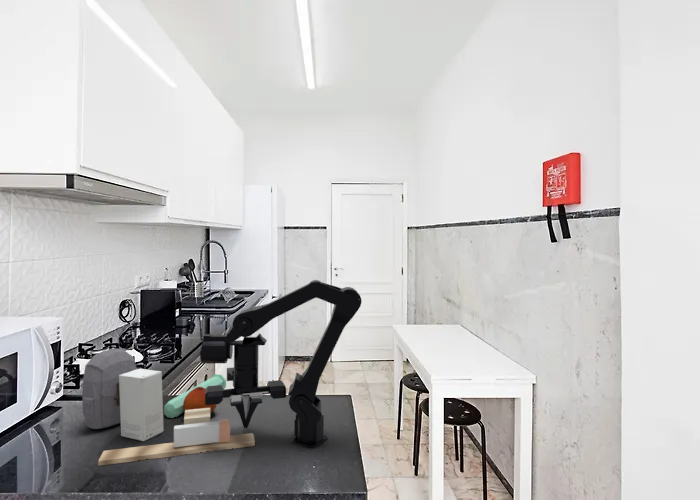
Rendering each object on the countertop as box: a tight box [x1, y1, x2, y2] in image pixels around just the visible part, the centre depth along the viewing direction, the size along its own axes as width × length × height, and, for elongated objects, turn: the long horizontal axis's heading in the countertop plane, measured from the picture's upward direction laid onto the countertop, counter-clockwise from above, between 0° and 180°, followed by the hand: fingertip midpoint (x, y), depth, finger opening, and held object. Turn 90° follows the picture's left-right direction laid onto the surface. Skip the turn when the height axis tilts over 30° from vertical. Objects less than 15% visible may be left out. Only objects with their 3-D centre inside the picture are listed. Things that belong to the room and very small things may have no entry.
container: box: [163, 373, 227, 419], centre depth 133 cm, size 6×6×25 cm
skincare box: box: [119, 368, 164, 442], centre depth 111 cm, size 8×7×16 cm
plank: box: [97, 432, 256, 467], centre depth 102 cm, size 33×5×1 cm, turn 108°
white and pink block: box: [173, 418, 231, 447], centre depth 104 cm, size 12×3×4 cm, turn 108°
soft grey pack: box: [81, 348, 138, 430], centre depth 117 cm, size 15×8×20 cm, turn 156°
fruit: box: [183, 386, 218, 414], centre depth 123 cm, size 9×9×8 cm
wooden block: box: [183, 408, 211, 425], centre depth 109 cm, size 6×6×6 cm
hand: (245, 427), depth 107 cm, fingers closed
